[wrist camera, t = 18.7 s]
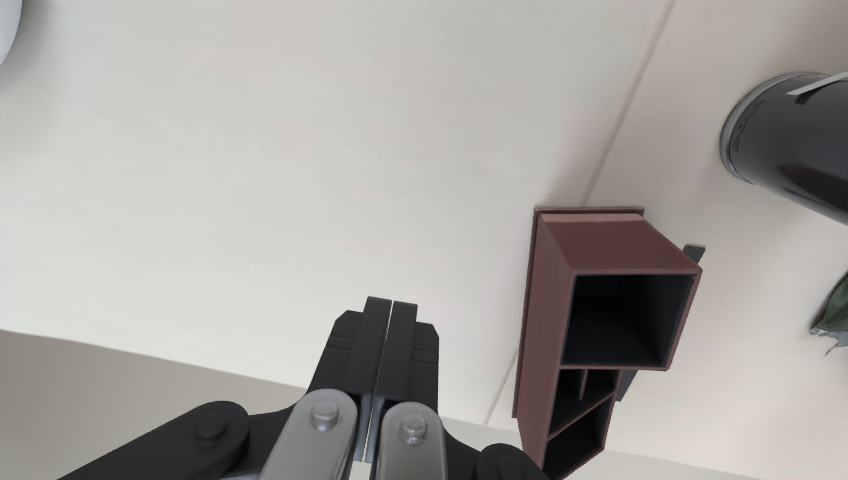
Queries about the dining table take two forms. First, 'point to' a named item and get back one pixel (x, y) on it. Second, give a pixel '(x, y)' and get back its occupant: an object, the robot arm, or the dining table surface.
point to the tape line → (630, 374)
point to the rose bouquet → (835, 317)
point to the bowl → (8, 24)
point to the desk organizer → (593, 325)
